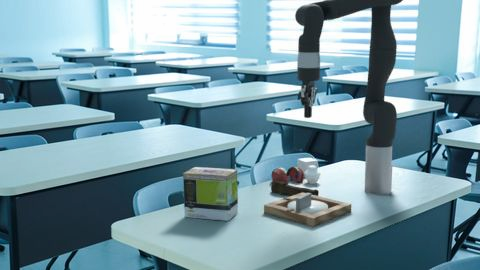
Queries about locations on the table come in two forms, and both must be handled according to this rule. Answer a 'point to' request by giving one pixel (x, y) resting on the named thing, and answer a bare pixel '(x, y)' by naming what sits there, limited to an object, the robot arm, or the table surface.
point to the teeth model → (288, 175)
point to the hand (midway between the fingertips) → (307, 117)
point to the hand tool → (290, 189)
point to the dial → (307, 204)
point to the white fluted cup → (312, 174)
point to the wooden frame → (312, 220)
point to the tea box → (210, 193)
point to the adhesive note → (306, 163)
